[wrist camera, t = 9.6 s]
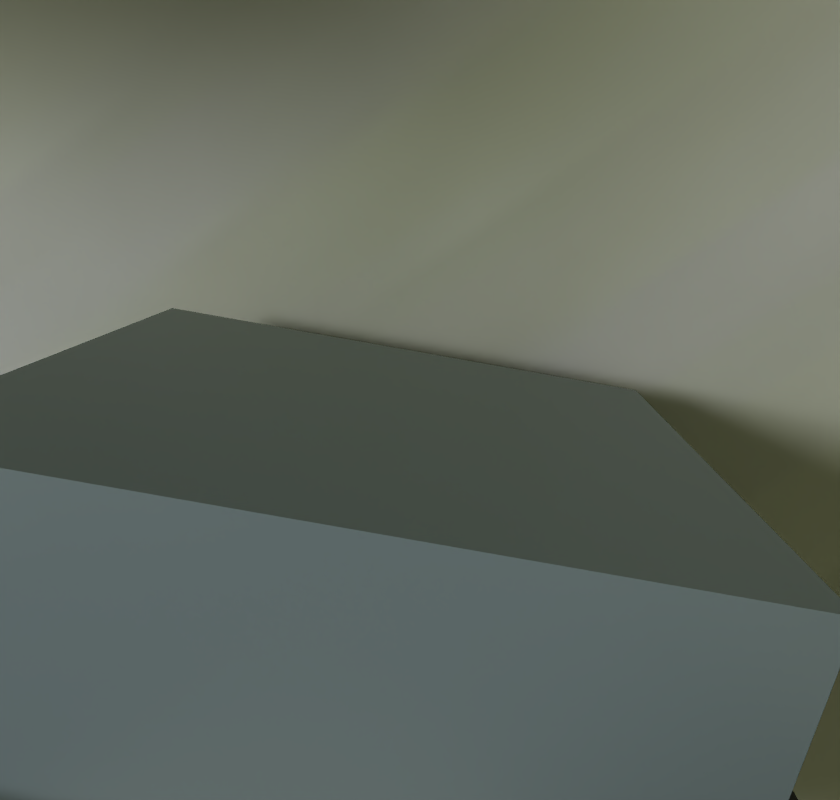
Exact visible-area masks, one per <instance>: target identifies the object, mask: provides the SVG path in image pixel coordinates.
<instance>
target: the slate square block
mask: <svg viewBox="0 0 840 800" xmlns="http://www.w3.org/2000/svg"><path fill="white" fill-rule="evenodd" d="M839 669H840V597H839V596H838V595H837V594H836V593H835V592H834V591H833V590H832V589H831V588H830V587H829V586H828V585H827V584H826V583H825V582H824V581H823V580H822V579H821V578H820V577H819V576H818V575H817V574H816V573H815V572H814V571H813V570H812V569H811V568H810V567H809V566H808V565H807V564H806V563H805V562H804V561H803V560H802V559H801V558H800V557H799V556H798V555H797V554H796V553H795V552H794V551H793V550H792V549H791V548H790V547H789V546H788V545H787V544H786V543H785V542H784V541H783V540H782V539H781V538H780V537H779V535H778V534H777V533H776V532H775V531H774V530H773V529H772V528H771V527H770V526H769V525H768V524H767V523H766V522H765V521H764V520H763V519H762V518H761V517H760V516H759V515H758V514H757V513H756V512H755V511H754V510H753V509H752V508H751V507H750V506H749V505H748V504H747V503H746V502H745V501H744V500H743V499H742V498H741V497H740V496H739V495H738V494H737V493H736V492H735V491H734V490H733V489H732V488H731V487H730V486H729V485H728V484H727V483H726V482H725V481H724V480H723V479H722V478H721V477H720V476H719V475H718V474H717V473H716V472H715V470H714V469H713V468H712V467H711V466H710V465H709V464H708V463H707V462H706V461H705V460H704V459H703V458H702V457H701V456H700V455H699V454H698V453H697V452H696V451H695V450H694V449H693V448H692V447H691V446H690V445H689V444H688V443H687V442H686V441H685V440H684V439H683V438H682V437H681V436H680V435H679V434H678V433H677V432H676V431H675V430H674V429H673V428H672V427H671V426H670V425H669V424H668V423H667V422H666V421H665V420H664V419H663V418H662V417H661V416H660V415H659V414H658V413H657V412H656V411H655V410H654V409H653V408H652V407H651V405H650V404H649V403H648V402H647V401H646V400H645V399H644V398H643V397H642V396H641V395H640V394H639V393H638V392H637V391H636V390H631V389H625V388H620V387H614V386H608V385H603V384H597V383H592V382H586V381H580V380H575V379H569V378H563V377H558V376H552V375H546V374H541V373H535V372H529V371H524V370H518V369H512V368H507V367H501V366H496V365H490V364H484V363H479V362H473V361H467V360H462V359H456V358H450V357H445V356H439V355H433V354H428V353H422V352H416V351H411V350H405V349H399V348H394V347H388V346H383V345H377V344H371V343H366V342H360V341H354V340H349V339H343V338H337V337H332V336H326V335H320V334H315V333H309V332H303V331H298V330H292V329H287V328H281V327H275V326H270V325H264V324H258V323H253V322H247V321H241V320H236V319H230V318H224V317H219V316H213V315H207V314H202V313H196V312H190V311H185V310H179V309H174V308H172V309H169V310H166V311H164V312H161V313H159V314H156V315H154V316H151V317H149V318H146V319H143V320H141V321H138V322H136V323H133V324H131V325H128V326H126V327H123V328H120V329H118V330H115V331H113V332H110V333H108V334H105V335H103V336H100V337H97V338H95V339H92V340H90V341H87V342H85V343H82V344H80V345H77V346H75V347H72V348H69V349H67V350H64V351H62V352H59V353H57V354H54V355H52V356H49V357H46V358H44V359H41V360H39V361H36V362H34V363H31V364H29V365H26V366H23V367H21V368H18V369H16V370H13V371H11V372H8V373H6V374H3V375H0V800H789V798H790V795H791V793H792V790H793V787H794V785H795V782H796V780H797V777H798V775H799V772H800V770H801V767H802V764H803V762H804V759H805V757H806V754H807V752H808V749H809V746H810V744H811V741H812V739H813V736H814V734H815V731H816V728H817V726H818V723H819V721H820V718H821V716H822V713H823V710H824V708H825V705H826V703H827V700H828V698H829V695H830V693H831V690H832V687H833V685H834V682H835V680H836V677H837V675H838V672H839Z"/></svg>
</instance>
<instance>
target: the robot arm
mask: <svg viewBox="0 0 840 800" xmlns="http://www.w3.org/2000/svg"><path fill="white" fill-rule="evenodd" d="M789 800H798V799H797V797H796V796H795V794H794V792H793V790H792V793H791V795H790V798H789Z"/></svg>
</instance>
